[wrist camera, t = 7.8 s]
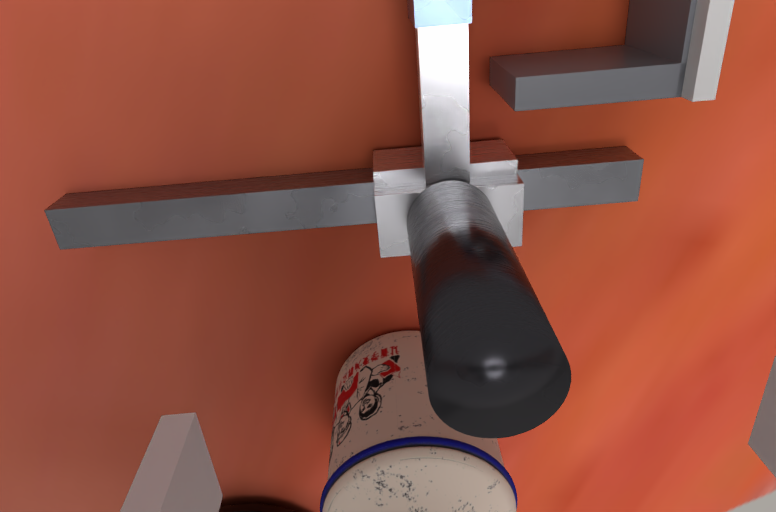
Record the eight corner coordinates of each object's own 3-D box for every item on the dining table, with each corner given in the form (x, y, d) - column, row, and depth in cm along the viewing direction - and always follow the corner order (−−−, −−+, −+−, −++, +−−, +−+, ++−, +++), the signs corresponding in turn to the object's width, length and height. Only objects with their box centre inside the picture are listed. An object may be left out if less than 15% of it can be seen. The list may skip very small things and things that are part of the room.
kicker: (380, 226, 28) (387, 452, 15) (346, -122, 21) (306, -255, 8) (500, 216, 27) (609, 435, 15) (506, -137, 21) (719, -295, 8)
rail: (80, 231, 28) (60, 249, 26) (66, 194, 27) (44, 210, 25) (620, 185, 27) (638, 201, 25) (625, 146, 26) (644, 159, 24)
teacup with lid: (372, 300, 30) (372, 476, 20) (513, 357, 32) (580, 543, 22) (290, 444, 35) (256, 645, 25) (417, 485, 37) (434, 687, 27)
